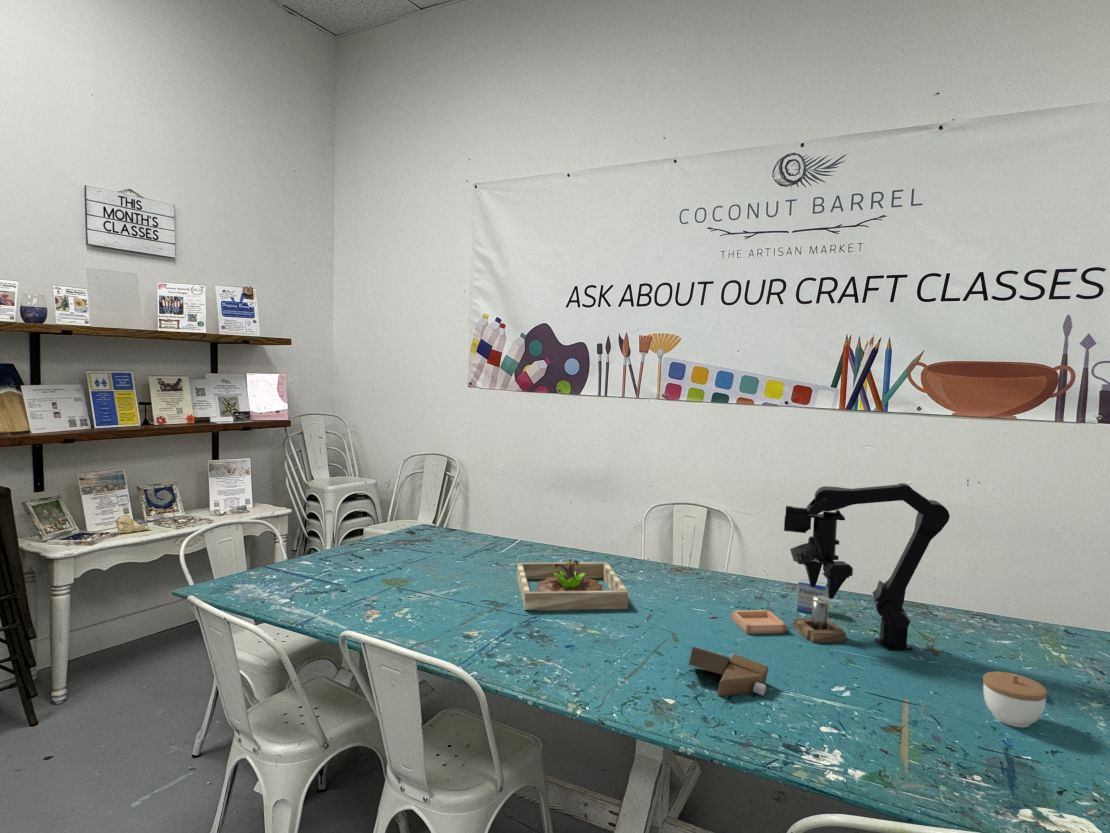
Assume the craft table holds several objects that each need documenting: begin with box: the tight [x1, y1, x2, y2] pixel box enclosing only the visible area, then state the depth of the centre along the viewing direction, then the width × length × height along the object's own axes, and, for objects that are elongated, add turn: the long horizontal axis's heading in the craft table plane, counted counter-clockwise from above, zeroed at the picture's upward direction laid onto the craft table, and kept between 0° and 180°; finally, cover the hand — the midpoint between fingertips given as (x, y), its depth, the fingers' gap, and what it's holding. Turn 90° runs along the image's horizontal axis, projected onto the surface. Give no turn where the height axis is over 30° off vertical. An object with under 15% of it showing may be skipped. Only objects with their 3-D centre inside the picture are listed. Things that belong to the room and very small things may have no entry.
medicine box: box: [795, 578, 828, 614], centre depth 196 cm, size 8×4×9 cm, turn 62°
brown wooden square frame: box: [793, 617, 846, 643], centre depth 179 cm, size 10×10×2 cm
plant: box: [537, 558, 603, 592], centre depth 207 cm, size 20×20×11 cm
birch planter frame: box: [516, 561, 629, 611], centre depth 207 cm, size 30×30×5 cm
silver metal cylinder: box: [811, 595, 830, 630], centre depth 179 cm, size 4×4×10 cm
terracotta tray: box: [730, 609, 788, 635], centre depth 184 cm, size 11×11×2 cm
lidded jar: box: [982, 671, 1048, 728], centre depth 136 cm, size 11×11×9 cm
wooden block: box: [688, 646, 769, 697], centre depth 149 cm, size 8×13×18 cm
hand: (821, 592), depth 178 cm, fingers open, 9 cm apart
